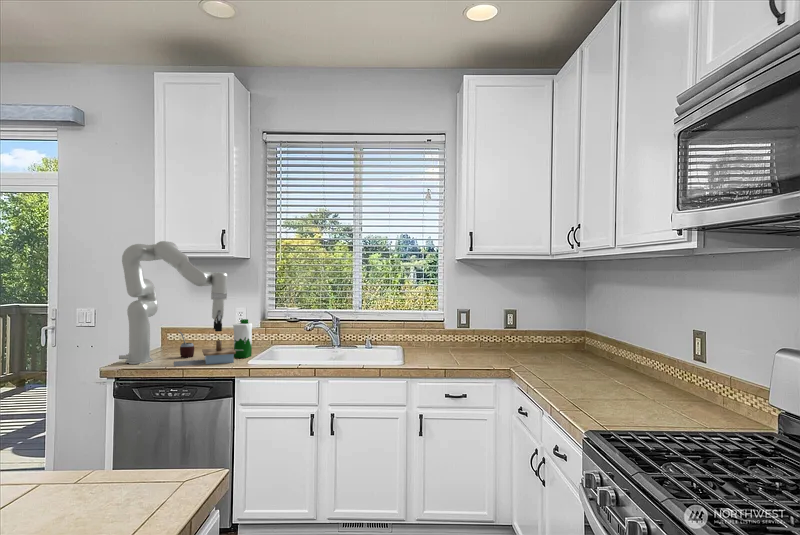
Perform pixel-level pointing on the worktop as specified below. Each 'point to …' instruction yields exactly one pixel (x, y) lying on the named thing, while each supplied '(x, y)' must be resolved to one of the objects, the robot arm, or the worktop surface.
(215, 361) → the dish
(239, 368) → the worktop surface
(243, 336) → the milk carton
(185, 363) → the mat
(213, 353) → the lid
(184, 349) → the mate gourd
